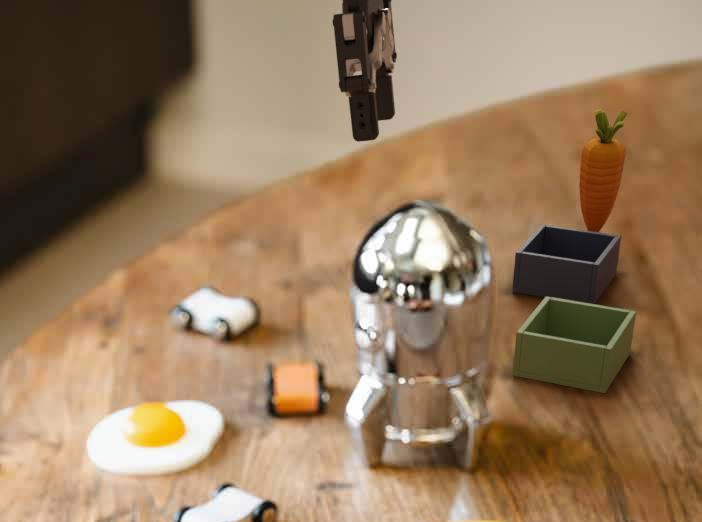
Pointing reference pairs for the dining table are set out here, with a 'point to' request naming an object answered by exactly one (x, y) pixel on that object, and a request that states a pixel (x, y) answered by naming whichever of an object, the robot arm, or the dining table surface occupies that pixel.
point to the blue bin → (566, 263)
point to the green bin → (574, 344)
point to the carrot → (601, 172)
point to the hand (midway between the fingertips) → (375, 129)
